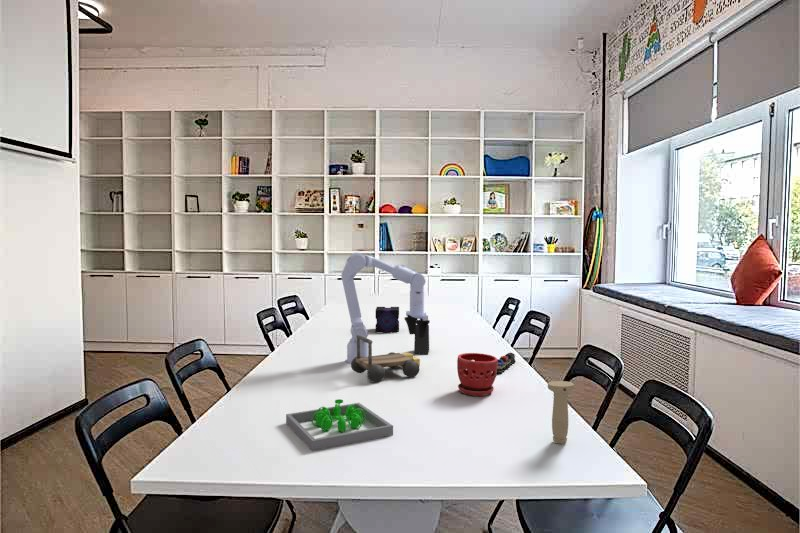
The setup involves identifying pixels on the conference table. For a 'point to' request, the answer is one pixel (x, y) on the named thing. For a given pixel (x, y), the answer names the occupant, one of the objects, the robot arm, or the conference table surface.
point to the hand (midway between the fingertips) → (416, 335)
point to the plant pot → (476, 373)
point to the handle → (560, 409)
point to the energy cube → (387, 319)
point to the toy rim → (340, 439)
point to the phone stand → (421, 342)
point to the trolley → (382, 363)
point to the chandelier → (339, 417)
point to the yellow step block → (412, 358)
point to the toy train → (505, 362)
